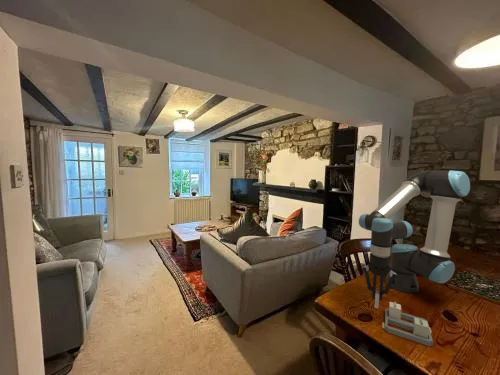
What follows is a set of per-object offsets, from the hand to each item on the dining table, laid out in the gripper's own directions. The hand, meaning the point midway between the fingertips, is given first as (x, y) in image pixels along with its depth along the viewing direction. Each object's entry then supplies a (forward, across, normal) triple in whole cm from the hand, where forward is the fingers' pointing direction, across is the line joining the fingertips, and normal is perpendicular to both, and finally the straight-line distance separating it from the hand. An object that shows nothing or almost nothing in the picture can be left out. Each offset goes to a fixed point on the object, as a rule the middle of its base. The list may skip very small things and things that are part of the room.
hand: (376, 306), depth 97 cm
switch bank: (+4, +11, -4) cm, 12 cm away
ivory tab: (+3, +7, 0) cm, 7 cm away
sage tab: (+3, +15, -7) cm, 17 cm away
